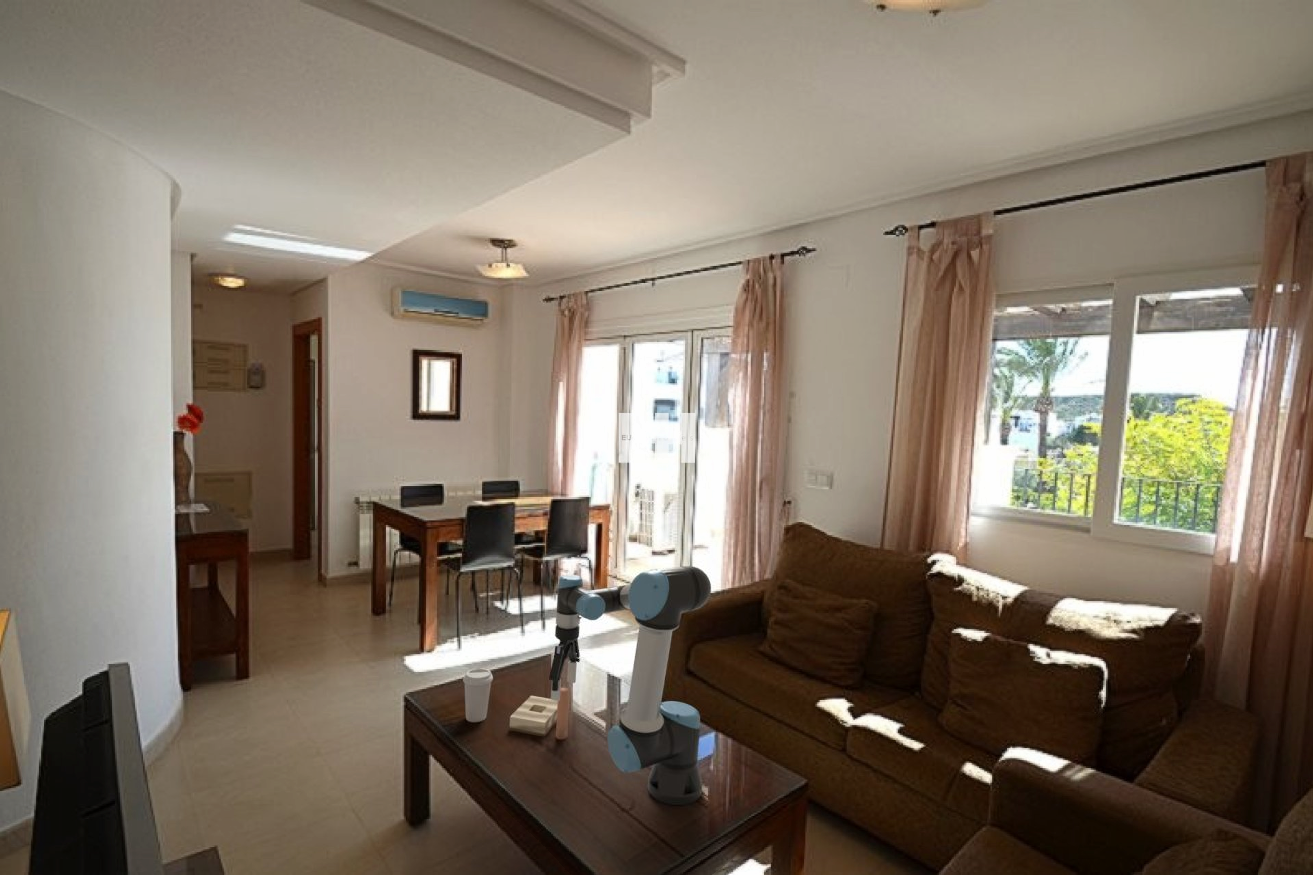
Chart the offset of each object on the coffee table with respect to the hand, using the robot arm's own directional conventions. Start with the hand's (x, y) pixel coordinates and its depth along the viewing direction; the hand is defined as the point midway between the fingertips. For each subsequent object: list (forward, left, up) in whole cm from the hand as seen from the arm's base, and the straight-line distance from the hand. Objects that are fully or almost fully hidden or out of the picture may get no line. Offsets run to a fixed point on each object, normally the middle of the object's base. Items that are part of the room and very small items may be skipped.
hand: (563, 690), depth 199 cm
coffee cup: (+2, +31, -15) cm, 34 cm away
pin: (0, 0, -15) cm, 15 cm away
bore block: (+6, +11, -15) cm, 19 cm away
